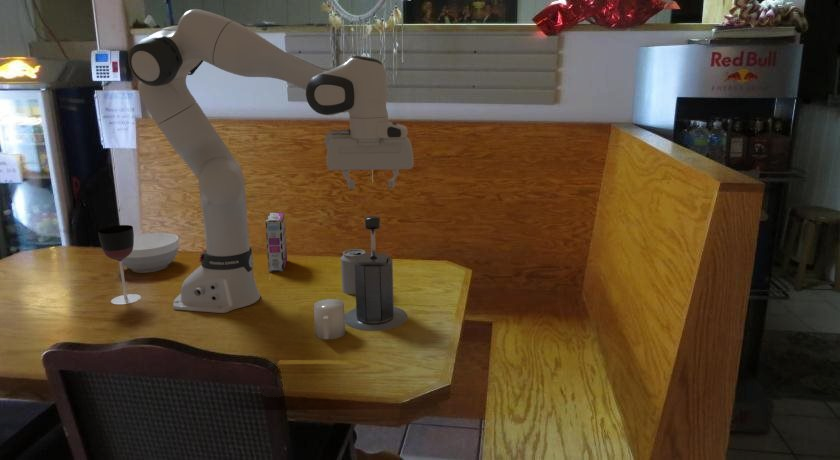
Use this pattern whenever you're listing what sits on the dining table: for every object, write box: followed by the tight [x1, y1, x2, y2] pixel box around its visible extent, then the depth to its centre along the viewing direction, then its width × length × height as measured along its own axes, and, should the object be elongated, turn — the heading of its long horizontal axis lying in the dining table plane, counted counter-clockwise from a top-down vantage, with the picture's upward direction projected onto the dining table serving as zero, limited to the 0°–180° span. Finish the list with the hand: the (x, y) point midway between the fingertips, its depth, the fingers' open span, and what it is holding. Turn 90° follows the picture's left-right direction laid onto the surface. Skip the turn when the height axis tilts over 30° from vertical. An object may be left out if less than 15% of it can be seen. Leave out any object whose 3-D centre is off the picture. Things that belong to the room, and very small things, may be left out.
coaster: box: [344, 306, 408, 332], centre depth 154 cm, size 16×16×1 cm
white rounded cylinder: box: [313, 298, 346, 340], centre depth 144 cm, size 7×9×8 cm
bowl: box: [122, 232, 180, 274], centre depth 195 cm, size 19×19×9 cm
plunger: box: [364, 215, 381, 266], centre depth 149 cm, size 6×6×13 cm
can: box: [340, 248, 367, 296], centre depth 171 cm, size 8×8×12 cm
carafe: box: [355, 253, 395, 325], centre depth 153 cm, size 9×12×16 cm
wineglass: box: [97, 224, 142, 305], centre depth 167 cm, size 8×9×20 cm
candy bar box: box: [265, 212, 288, 273], centre depth 193 cm, size 11×5×16 cm, turn 6°
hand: (371, 188), depth 145 cm, fingers open, 8 cm apart
